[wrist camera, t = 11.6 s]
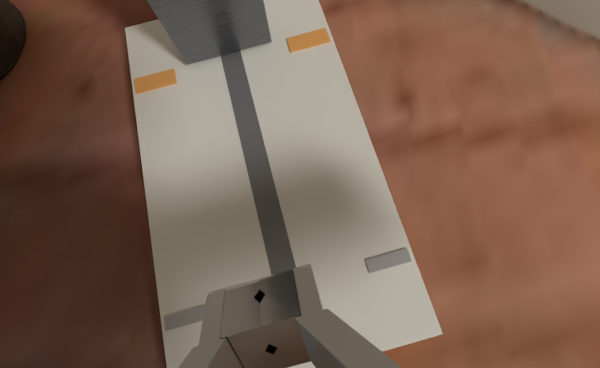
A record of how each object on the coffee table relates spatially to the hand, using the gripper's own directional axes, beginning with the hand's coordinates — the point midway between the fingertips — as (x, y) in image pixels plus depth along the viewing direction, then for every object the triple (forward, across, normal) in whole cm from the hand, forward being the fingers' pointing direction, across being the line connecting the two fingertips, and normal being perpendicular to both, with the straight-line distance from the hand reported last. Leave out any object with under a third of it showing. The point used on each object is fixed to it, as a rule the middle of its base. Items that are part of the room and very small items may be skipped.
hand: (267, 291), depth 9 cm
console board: (+10, 0, 0) cm, 10 cm away
